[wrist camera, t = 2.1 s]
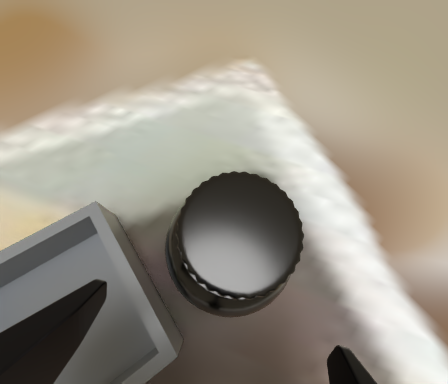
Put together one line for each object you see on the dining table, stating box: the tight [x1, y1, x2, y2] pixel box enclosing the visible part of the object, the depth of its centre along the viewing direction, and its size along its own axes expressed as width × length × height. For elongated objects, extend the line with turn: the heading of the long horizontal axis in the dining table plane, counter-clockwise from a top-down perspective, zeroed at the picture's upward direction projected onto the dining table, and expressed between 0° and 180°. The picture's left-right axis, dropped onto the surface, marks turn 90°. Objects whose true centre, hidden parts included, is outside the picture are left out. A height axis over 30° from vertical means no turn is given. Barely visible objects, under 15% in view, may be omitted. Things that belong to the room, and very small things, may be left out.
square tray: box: [0, 201, 183, 384], centre depth 15 cm, size 12×12×4 cm
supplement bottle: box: [165, 171, 304, 317], centre depth 13 cm, size 7×7×12 cm
